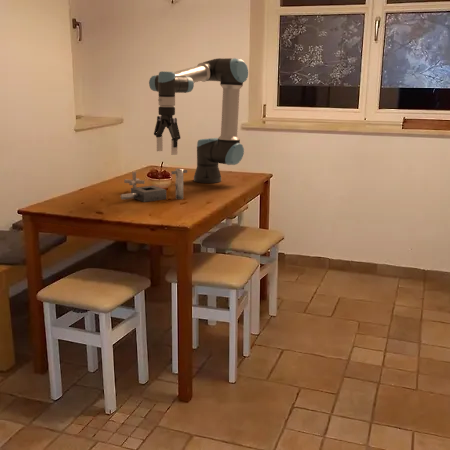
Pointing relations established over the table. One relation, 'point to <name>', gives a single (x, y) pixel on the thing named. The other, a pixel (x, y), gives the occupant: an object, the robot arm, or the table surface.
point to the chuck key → (179, 182)
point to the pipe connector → (134, 180)
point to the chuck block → (146, 194)
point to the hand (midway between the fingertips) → (166, 152)
